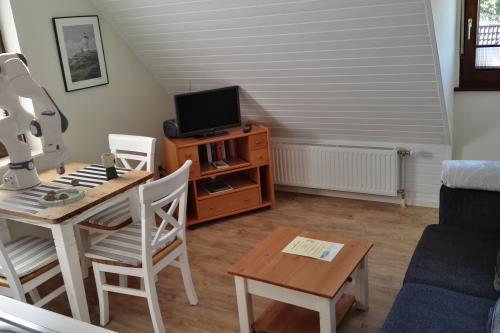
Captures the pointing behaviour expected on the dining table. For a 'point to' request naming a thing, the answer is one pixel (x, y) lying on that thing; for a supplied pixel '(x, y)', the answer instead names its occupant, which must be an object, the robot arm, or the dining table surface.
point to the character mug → (109, 165)
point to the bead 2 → (75, 182)
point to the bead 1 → (62, 170)
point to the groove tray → (72, 196)
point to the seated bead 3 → (63, 196)
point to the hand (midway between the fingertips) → (61, 171)
